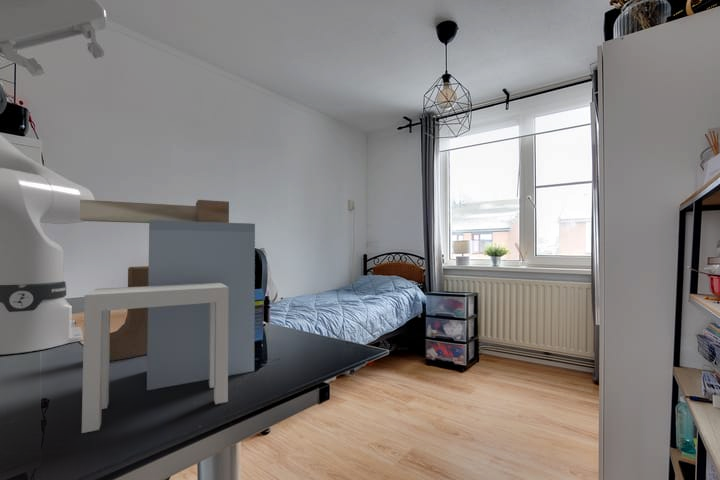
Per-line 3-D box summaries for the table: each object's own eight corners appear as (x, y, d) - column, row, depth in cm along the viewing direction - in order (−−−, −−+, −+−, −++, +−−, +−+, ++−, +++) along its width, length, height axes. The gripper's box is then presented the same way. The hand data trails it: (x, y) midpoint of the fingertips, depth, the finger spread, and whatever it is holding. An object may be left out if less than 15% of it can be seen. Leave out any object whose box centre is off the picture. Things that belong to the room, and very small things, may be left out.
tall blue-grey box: (149, 370, 60) (151, 224, 61) (242, 355, 68) (243, 227, 69) (146, 390, 51) (149, 219, 52) (254, 371, 59) (254, 223, 60)
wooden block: (102, 363, 64) (104, 268, 65) (99, 358, 67) (100, 267, 68) (156, 353, 70) (157, 266, 71) (151, 348, 73) (152, 266, 74)
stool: (94, 406, 46) (96, 288, 47) (219, 382, 54) (220, 282, 55) (81, 433, 39) (84, 295, 40) (227, 401, 47) (228, 287, 48)
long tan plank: (85, 221, 54) (85, 196, 54) (224, 225, 65) (224, 205, 65) (78, 218, 50) (78, 191, 50) (228, 223, 60) (228, 201, 60)
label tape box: (254, 337, 83) (254, 287, 83) (264, 340, 80) (264, 288, 81) (220, 345, 76) (220, 290, 76) (229, 348, 73) (229, 291, 74)
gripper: (72, -16, 60) (130, 56, 63) (-79, 9, 48) (3, 95, 52) (69, -46, 55) (132, 34, 58) (-100, -26, 43) (-8, 72, 47)
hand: (70, 63), depth 55 cm, fingers open, 8 cm apart
